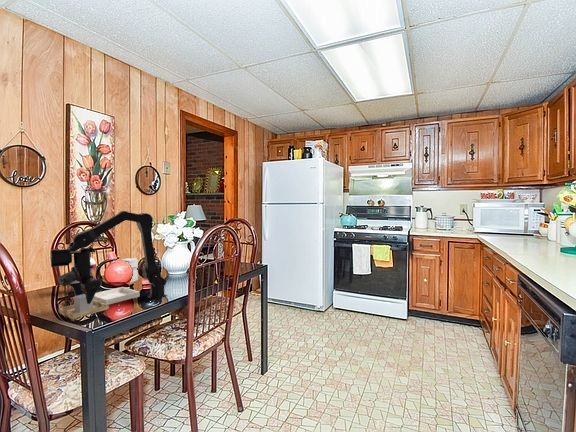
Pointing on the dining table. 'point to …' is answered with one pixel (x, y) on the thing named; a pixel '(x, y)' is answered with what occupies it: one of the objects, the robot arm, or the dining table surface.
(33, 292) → the dining table surface
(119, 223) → the robot arm
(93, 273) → the smoothie
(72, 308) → the oak tray
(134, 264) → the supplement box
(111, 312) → the dining table surface
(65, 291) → the dining table surface
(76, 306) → the stone block
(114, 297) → the bin
